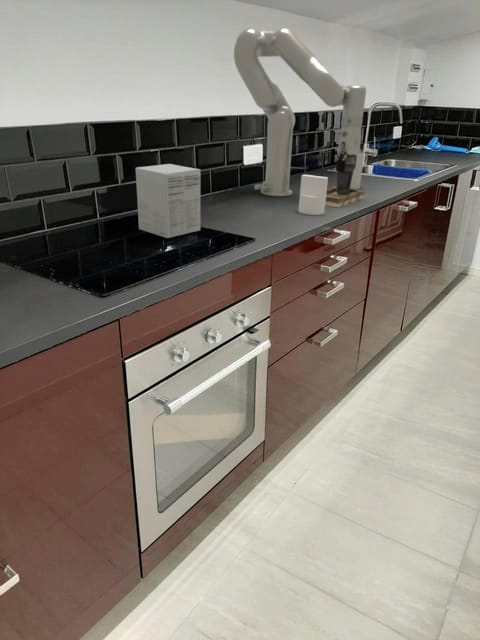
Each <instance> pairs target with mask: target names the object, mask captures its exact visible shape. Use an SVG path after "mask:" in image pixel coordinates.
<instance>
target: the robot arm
mask: <svg viewBox="0 0 480 640" xmlns="http://www.w3.org/2000/svg"><path fill="white" fill-rule="evenodd" d="M260 57H261V58H265V57H280V58H281V59H282V61H283V62H284V63H286V65H287V66H288V67H289V68H290V69H291V70H292V71H293V72H294V73H295V74H296V75H297V76H298V77H299V79H300V80H302V81H303V82H304V83H305V84H307V86H308V87H309V88H310V89H311V90H312V91H313V92H314V93H315V94H316V95H317V97H318V98H320V99H321V100H322V101H323V103H324V104H325V105H326V106H328V107H331V108H336V107H340V106H343V107H342V113H341V115H342V116H341V123H340V127H341V129H340V134H339V141H338V147H337V149H336V152H337V153H336V156H337V157H336V160H337V161H336V162H337V163H336V169H335V170H336V172H337V171H341V172H344V171H345V163H346V161H345V158H346V156H347V154H348V155H353V156H354V157H355V160H357V154H358V153H359V152H360V149H361V141H362V140H361V139H362V126H363V118H364V111H365V102H366V95H367V88H366V87H365V86H364V85H341V84H340V83H339V82H338V81H336V79H335V78H334V77H333V76H332V75H331V74H330V73H329V72H328V71H327V69H325V67H324V66H323V65H322V63H320V60H319V59H318V57H316V56H315V54H314V53H313V52H312V51H311V50H310V49H309V48H308V47H307V45H305V44H304V43H303V41H302V40H301V39H300V38H299V37H298V36H297V35H296V34H295V33H294V32H293V31H292V30H291V29H290V28H288V27H280V28H279V29H277V30H258V29H256V28H252V27H248V28H245V29H243V30H242V31H241V32H240V33H239V35H238V36H237V38H236V41H235V44H234V48H233V59H234V64H235V66H236V70H237V71H238V74H239V75H240V78H241V79H242V81H243V83H244V84H245V86H246V87H247V90H248V91H249V93H250V95H251V97H252V99H253V100H254V103H255V104H256V105H257V106H258V108H260V109H262V110H263V111H262V112H264V115H265V116H266V118H267V146H266V162H265V163H266V165H265V180H263V182H262V183H261V184H255V185H254V186H253V187H254V190H256V191H257V190H260V193H261V194H262V195H266V196H270V197H290V196H292V195H293V190H291V189H289V188H290V177H291V163H292V162H291V161H292V149H293V145H292V144H293V132H294V131H293V130H294V127H295V124H296V115H295V114H294V111H293V109H292V108H291V106H290V105H289V102H288V101H287V99H286V97H285V96H284V95H283V92H282V91H281V89H280V87H279V86H278V85H277V83H276V84H275V83H274V82H273V81H272V80H271V79H270V77H269V75H268V74H267V72H266V70H265V68H264V66H263V65H262V62H260V60H259V58H260ZM343 155H344V156H343ZM355 167H356V165H355Z"/></svg>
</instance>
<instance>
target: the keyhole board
mask: <svg viewBox="0 0 480 640" xmlns="http://www.w3.org/2000/svg"><path fill="white" fill-rule="evenodd" d="M364 195H365V190H362V189H361V190H360V189H351V188H350V190H349V194H348V195H338V194H337V186H336V185H335V186H331V187H327V193H326V202H325V206H328V207H334V208H342V207H344V206H347V205H350V204H352V203H355V202H359V201H361V200H363V199H364Z"/></svg>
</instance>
